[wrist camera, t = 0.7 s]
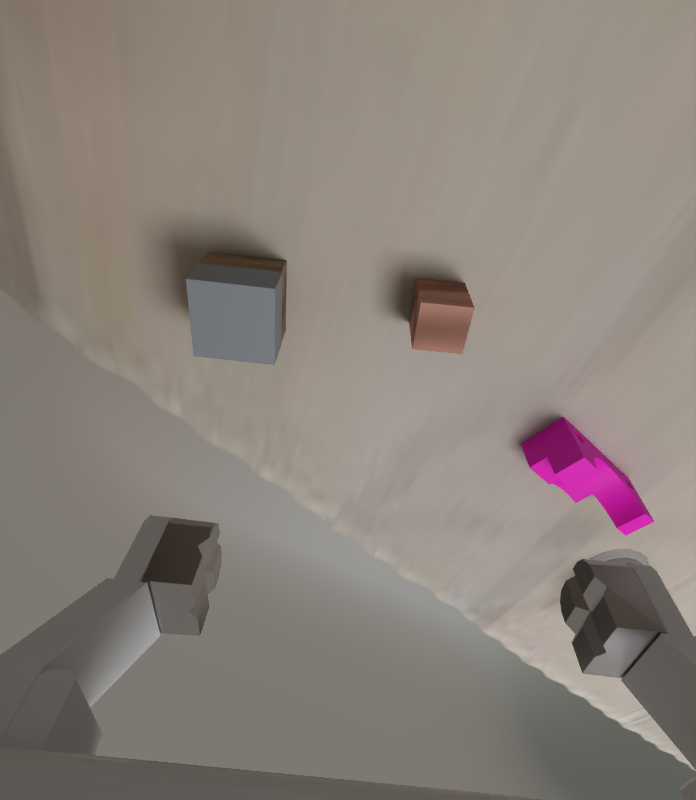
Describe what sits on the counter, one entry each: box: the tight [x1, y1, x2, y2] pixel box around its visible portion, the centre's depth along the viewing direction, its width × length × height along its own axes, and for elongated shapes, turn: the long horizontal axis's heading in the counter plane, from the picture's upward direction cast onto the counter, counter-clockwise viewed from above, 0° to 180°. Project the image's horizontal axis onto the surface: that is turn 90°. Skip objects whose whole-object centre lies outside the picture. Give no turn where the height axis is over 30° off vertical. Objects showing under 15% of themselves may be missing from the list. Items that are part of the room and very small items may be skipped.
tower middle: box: [186, 263, 282, 365], centre depth 46 cm, size 8×8×4 cm
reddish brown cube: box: [409, 279, 474, 354], centre depth 48 cm, size 5×5×6 cm
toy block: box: [521, 417, 654, 535], centre depth 60 cm, size 15×6×8 cm, turn 48°
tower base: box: [200, 253, 287, 343], centre depth 50 cm, size 8×8×4 cm
